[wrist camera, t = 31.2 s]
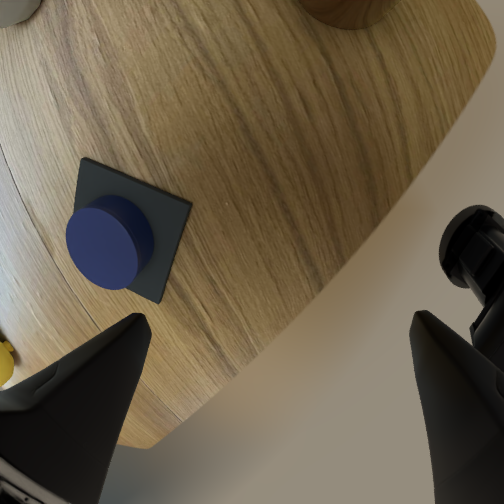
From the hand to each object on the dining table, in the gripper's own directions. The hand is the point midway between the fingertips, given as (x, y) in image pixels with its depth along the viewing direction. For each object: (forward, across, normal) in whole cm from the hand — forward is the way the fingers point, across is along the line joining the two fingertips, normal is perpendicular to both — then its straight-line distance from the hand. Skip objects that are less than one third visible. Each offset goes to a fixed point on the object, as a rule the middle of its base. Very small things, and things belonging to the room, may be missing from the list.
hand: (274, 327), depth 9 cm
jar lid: (+9, +14, +1) cm, 16 cm away
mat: (+12, +14, +1) cm, 18 cm away
